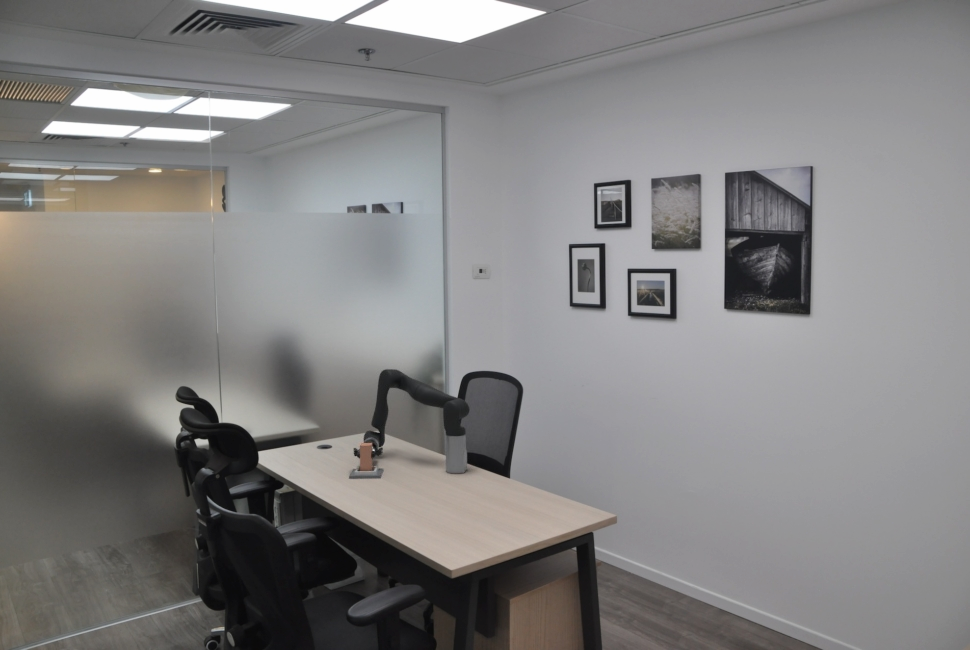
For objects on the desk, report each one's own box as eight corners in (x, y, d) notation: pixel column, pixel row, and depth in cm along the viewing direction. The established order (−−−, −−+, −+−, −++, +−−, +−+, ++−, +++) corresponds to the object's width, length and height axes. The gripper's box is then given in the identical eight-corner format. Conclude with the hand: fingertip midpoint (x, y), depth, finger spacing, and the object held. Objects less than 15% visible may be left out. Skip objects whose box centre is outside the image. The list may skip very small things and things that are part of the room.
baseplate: (383, 470, 336) (383, 465, 336) (380, 478, 324) (380, 472, 324) (353, 471, 336) (353, 465, 336) (349, 478, 324) (349, 472, 324)
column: (372, 468, 333) (372, 442, 332) (371, 471, 328) (370, 445, 327) (361, 468, 333) (361, 443, 332) (360, 471, 328) (359, 445, 327)
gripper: (354, 439, 343) (349, 447, 326) (385, 438, 344) (381, 447, 327) (355, 454, 344) (349, 464, 327) (385, 454, 344) (381, 463, 327)
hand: (365, 455), depth 327 cm, fingers open, 5 cm apart
